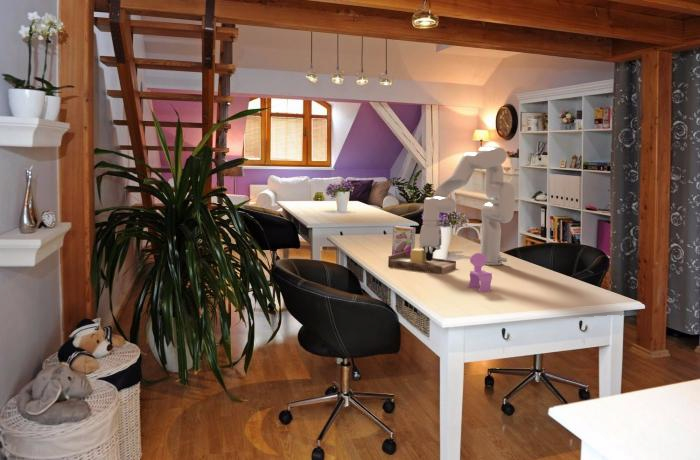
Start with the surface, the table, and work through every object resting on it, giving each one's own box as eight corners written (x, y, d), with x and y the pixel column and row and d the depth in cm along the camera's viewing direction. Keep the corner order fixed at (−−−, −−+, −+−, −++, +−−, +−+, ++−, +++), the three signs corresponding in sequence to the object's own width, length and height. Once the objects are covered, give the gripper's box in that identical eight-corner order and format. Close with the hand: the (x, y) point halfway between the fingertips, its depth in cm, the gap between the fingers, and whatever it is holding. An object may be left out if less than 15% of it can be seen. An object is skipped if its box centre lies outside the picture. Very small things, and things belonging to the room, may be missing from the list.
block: (426, 261, 298) (426, 249, 297) (421, 263, 293) (422, 251, 292) (415, 260, 301) (415, 248, 300) (410, 262, 296) (410, 249, 295)
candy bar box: (391, 257, 321) (392, 226, 319) (395, 255, 326) (397, 225, 323) (410, 259, 316) (411, 228, 313) (414, 258, 320) (415, 227, 318)
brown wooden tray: (455, 268, 297) (456, 258, 296) (441, 274, 282) (441, 263, 281) (404, 260, 311) (405, 251, 311) (388, 266, 296) (388, 256, 295)
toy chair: (476, 292, 248) (479, 256, 246) (465, 287, 256) (467, 252, 254) (493, 291, 251) (496, 255, 249) (481, 286, 259) (483, 252, 257)
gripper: (448, 223, 291) (446, 261, 293) (420, 221, 298) (418, 257, 301) (442, 225, 284) (440, 263, 287) (413, 222, 292) (412, 259, 294)
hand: (429, 260), depth 294 cm, fingers closed
